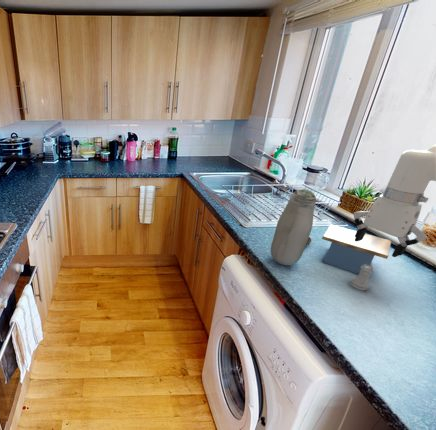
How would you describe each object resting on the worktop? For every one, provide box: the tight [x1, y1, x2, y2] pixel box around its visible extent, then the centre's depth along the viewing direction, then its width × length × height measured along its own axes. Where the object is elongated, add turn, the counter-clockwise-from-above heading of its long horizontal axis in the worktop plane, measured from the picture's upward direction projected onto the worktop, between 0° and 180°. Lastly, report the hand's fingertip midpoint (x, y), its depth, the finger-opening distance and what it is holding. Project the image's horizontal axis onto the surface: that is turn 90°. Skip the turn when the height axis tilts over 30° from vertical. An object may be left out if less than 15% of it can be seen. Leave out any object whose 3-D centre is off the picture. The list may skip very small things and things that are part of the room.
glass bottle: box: [270, 188, 317, 266], centre depth 100 cm, size 10×10×28 cm
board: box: [321, 223, 392, 260], centre depth 102 cm, size 18×14×1 cm
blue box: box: [323, 242, 376, 275], centre depth 104 cm, size 12×12×9 cm
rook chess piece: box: [350, 264, 374, 291], centre depth 92 cm, size 4×4×8 cm
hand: (376, 247), depth 87 cm, fingers open, 9 cm apart
